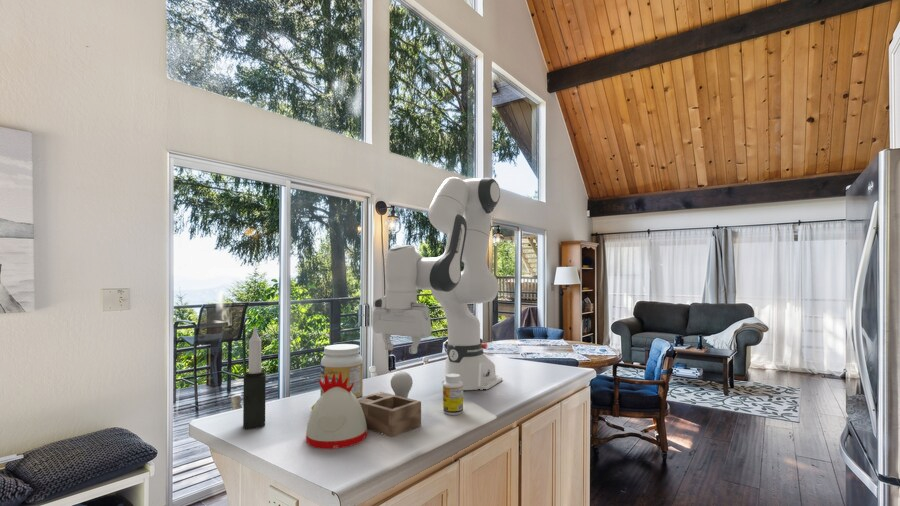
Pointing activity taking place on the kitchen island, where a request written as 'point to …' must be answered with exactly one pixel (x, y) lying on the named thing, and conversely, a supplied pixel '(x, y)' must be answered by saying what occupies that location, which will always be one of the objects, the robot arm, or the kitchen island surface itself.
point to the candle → (254, 387)
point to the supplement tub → (344, 366)
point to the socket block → (390, 413)
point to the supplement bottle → (453, 395)
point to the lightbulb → (401, 383)
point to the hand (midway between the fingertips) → (400, 351)
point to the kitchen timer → (336, 417)
